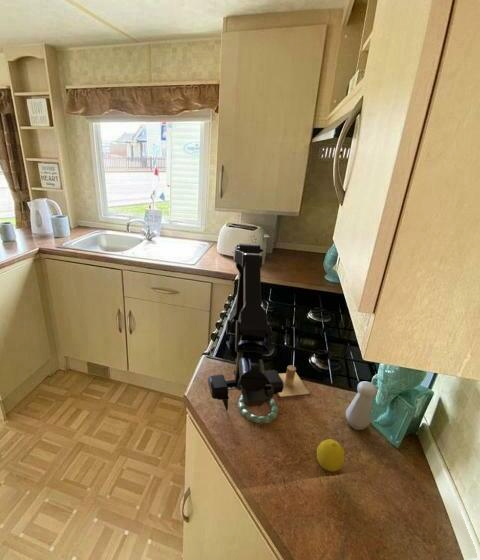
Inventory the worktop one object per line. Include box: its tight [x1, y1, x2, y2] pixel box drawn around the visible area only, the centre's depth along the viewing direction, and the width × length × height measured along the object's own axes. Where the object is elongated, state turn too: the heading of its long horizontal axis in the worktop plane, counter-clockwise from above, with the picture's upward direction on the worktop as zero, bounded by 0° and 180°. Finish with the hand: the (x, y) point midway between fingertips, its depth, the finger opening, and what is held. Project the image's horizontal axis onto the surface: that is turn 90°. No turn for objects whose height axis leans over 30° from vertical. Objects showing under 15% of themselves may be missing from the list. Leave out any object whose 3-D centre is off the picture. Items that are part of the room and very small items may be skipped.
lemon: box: [316, 438, 346, 473], centre depth 69 cm, size 6×6×8 cm
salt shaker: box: [345, 380, 378, 431], centre depth 79 cm, size 6×6×13 cm
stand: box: [277, 364, 311, 398], centre depth 92 cm, size 9×9×7 cm
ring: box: [237, 395, 279, 424], centre depth 85 cm, size 11×11×2 cm
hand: (242, 407), depth 84 cm, fingers open, 9 cm apart
